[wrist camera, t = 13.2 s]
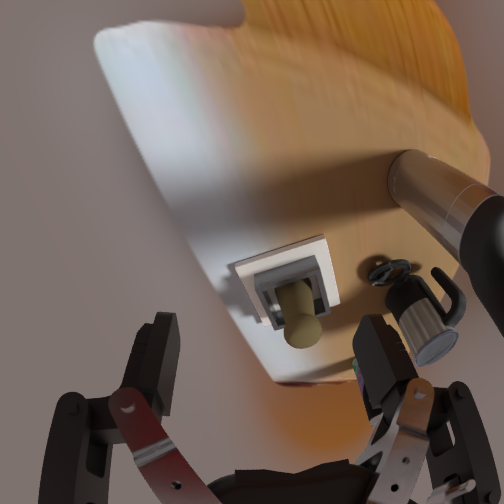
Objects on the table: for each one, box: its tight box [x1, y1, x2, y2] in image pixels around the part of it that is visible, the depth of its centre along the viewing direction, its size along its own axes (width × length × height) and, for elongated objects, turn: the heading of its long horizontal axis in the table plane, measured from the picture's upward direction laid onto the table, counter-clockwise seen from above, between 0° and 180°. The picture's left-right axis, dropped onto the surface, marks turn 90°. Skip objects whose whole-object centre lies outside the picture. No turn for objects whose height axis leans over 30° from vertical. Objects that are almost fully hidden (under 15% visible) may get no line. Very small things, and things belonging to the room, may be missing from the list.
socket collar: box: [254, 255, 331, 330], centre depth 42 cm, size 10×10×4 cm
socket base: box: [235, 234, 340, 327], centre depth 44 cm, size 14×14×1 cm
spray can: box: [352, 357, 383, 427], centre depth 50 cm, size 6×6×20 cm
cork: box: [274, 277, 322, 349], centre depth 39 cm, size 6×6×11 cm
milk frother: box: [368, 259, 466, 367], centre depth 40 cm, size 14×16×15 cm
